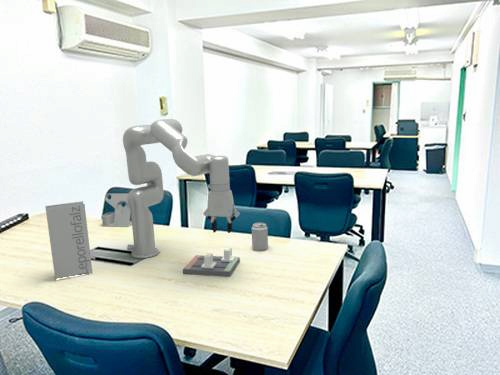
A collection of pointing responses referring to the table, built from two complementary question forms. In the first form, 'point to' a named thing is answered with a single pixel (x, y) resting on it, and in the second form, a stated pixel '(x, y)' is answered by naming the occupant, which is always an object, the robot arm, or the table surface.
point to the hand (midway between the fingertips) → (222, 231)
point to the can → (259, 236)
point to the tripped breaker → (209, 261)
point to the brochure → (69, 239)
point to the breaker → (228, 255)
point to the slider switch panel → (218, 270)
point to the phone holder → (117, 211)
